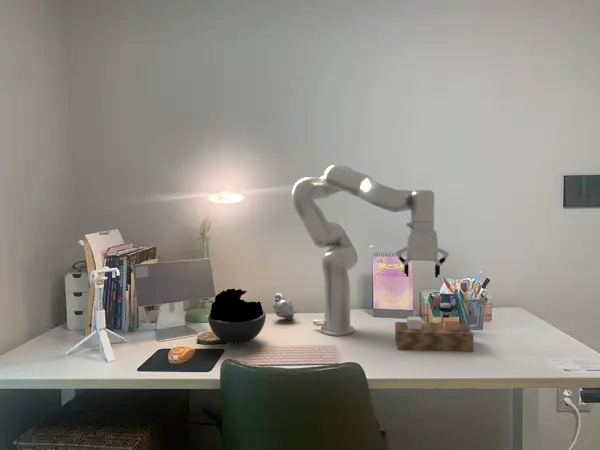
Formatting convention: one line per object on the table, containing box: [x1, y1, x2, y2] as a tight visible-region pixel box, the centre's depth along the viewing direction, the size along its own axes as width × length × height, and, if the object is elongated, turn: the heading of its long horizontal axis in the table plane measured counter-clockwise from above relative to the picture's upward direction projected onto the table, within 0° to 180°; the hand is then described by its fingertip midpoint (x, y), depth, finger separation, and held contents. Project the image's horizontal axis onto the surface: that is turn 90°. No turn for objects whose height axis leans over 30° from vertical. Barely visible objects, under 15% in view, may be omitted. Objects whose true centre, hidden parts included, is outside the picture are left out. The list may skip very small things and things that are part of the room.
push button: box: [438, 302, 454, 323], centre depth 175 cm, size 7×5×10 cm
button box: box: [394, 321, 474, 353], centre depth 159 cm, size 24×12×6 cm, turn 82°
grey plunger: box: [406, 316, 423, 330], centre depth 159 cm, size 4×4×6 cm
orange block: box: [443, 317, 460, 330], centre depth 158 cm, size 4×4×6 cm
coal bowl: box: [207, 288, 267, 345], centre depth 163 cm, size 20×20×19 cm
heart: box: [271, 292, 295, 321], centre depth 191 cm, size 10×10×12 cm
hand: (421, 276), depth 160 cm, fingers open, 9 cm apart
